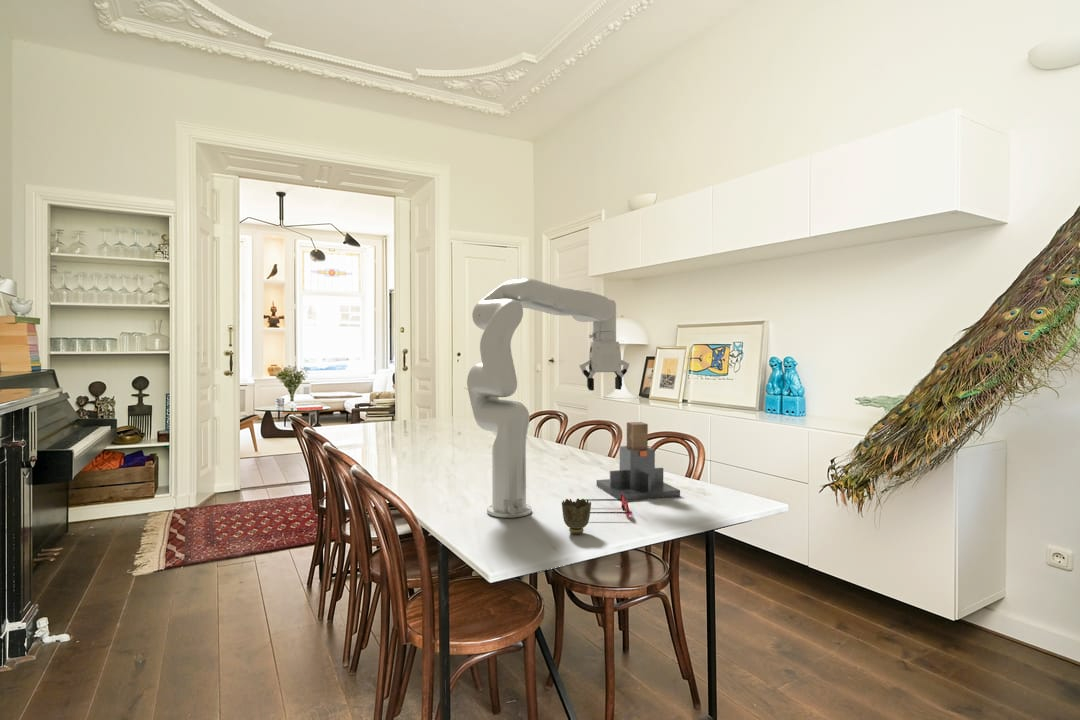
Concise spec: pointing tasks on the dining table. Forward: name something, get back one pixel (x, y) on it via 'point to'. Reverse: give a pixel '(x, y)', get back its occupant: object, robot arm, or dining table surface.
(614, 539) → the dining table surface
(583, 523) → the cup
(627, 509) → the glasses
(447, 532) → the dining table surface
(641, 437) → the column
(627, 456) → the stand
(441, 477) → the dining table surface
